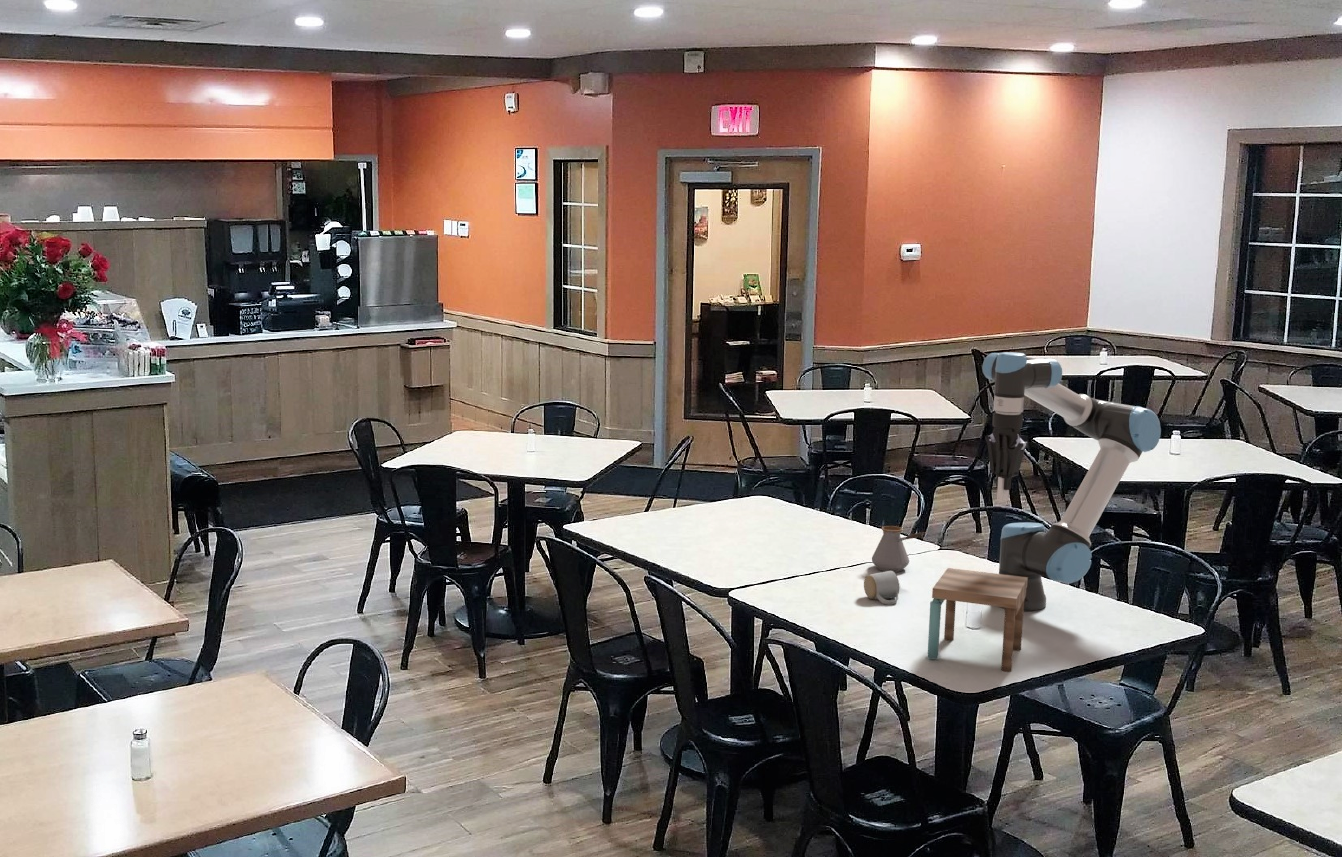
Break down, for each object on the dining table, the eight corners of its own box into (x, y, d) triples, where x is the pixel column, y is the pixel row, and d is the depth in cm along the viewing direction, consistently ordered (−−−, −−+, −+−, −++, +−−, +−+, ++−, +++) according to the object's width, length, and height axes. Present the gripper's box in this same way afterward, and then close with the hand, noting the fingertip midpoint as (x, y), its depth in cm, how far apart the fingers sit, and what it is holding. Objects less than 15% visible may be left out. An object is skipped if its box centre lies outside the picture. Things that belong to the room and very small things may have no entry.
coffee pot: (863, 566, 402) (865, 519, 400) (892, 562, 408) (894, 515, 406) (908, 584, 384) (911, 534, 382) (938, 579, 390) (940, 530, 387)
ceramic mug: (861, 595, 372) (862, 569, 370) (886, 593, 375) (887, 567, 373) (879, 607, 362) (881, 580, 361) (905, 604, 365) (906, 578, 364)
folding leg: (938, 638, 334) (941, 582, 331) (948, 640, 333) (951, 583, 330) (926, 658, 319) (929, 599, 317) (937, 659, 318) (940, 600, 316)
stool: (944, 636, 337) (947, 567, 334) (1022, 647, 330) (1027, 577, 326) (928, 660, 319) (932, 588, 316) (1011, 672, 311) (1016, 598, 308)
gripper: (979, 409, 339) (974, 497, 343) (1017, 417, 328) (1011, 507, 332) (999, 407, 343) (994, 495, 347) (1037, 415, 332) (1031, 504, 336)
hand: (1002, 501), depth 340 cm, fingers closed
